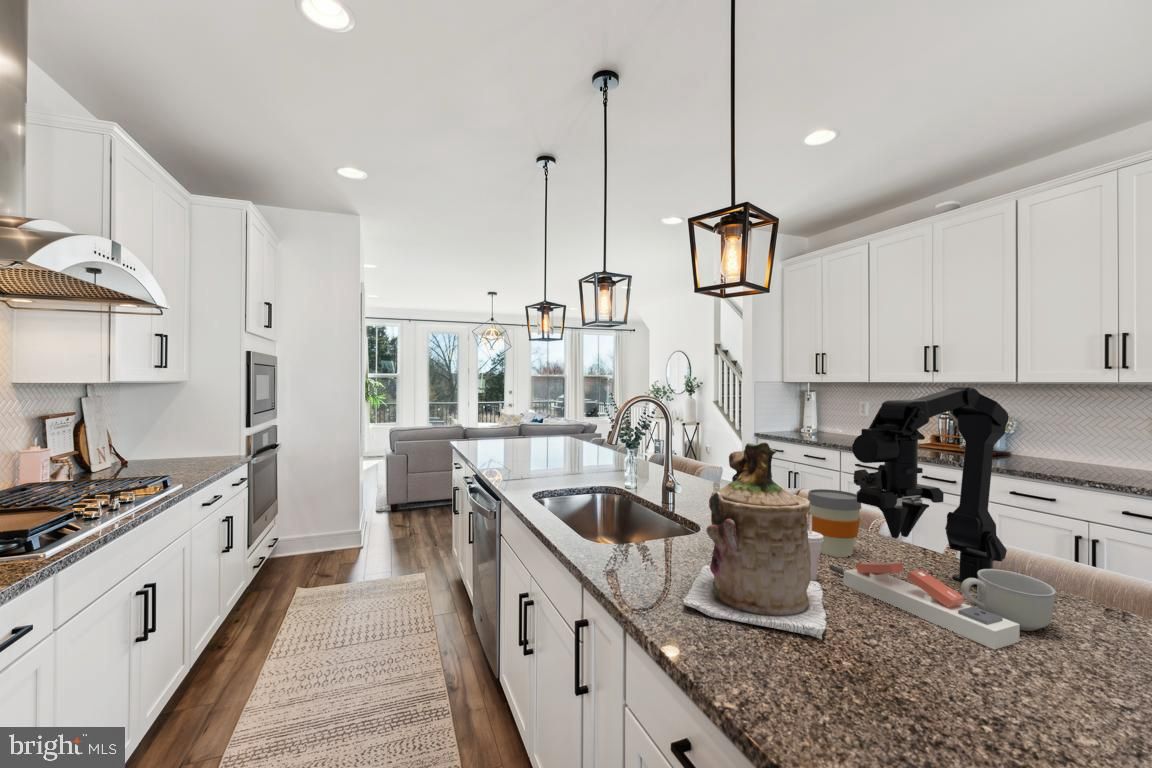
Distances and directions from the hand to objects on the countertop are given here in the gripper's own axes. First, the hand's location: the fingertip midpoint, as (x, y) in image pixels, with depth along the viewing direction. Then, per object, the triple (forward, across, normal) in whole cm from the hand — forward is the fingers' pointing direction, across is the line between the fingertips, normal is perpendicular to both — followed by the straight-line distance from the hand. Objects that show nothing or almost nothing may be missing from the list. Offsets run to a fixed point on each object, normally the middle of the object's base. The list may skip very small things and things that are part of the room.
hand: (899, 537), depth 101 cm
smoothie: (+12, +10, -14) cm, 21 cm away
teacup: (+12, -7, +14) cm, 20 cm away
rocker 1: (+7, +2, -2) cm, 8 cm away
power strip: (+12, +2, +3) cm, 13 cm away
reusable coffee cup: (+12, -11, -25) cm, 30 cm away
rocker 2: (+7, +2, +8) cm, 11 cm away
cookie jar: (+12, +30, -8) cm, 33 cm away
